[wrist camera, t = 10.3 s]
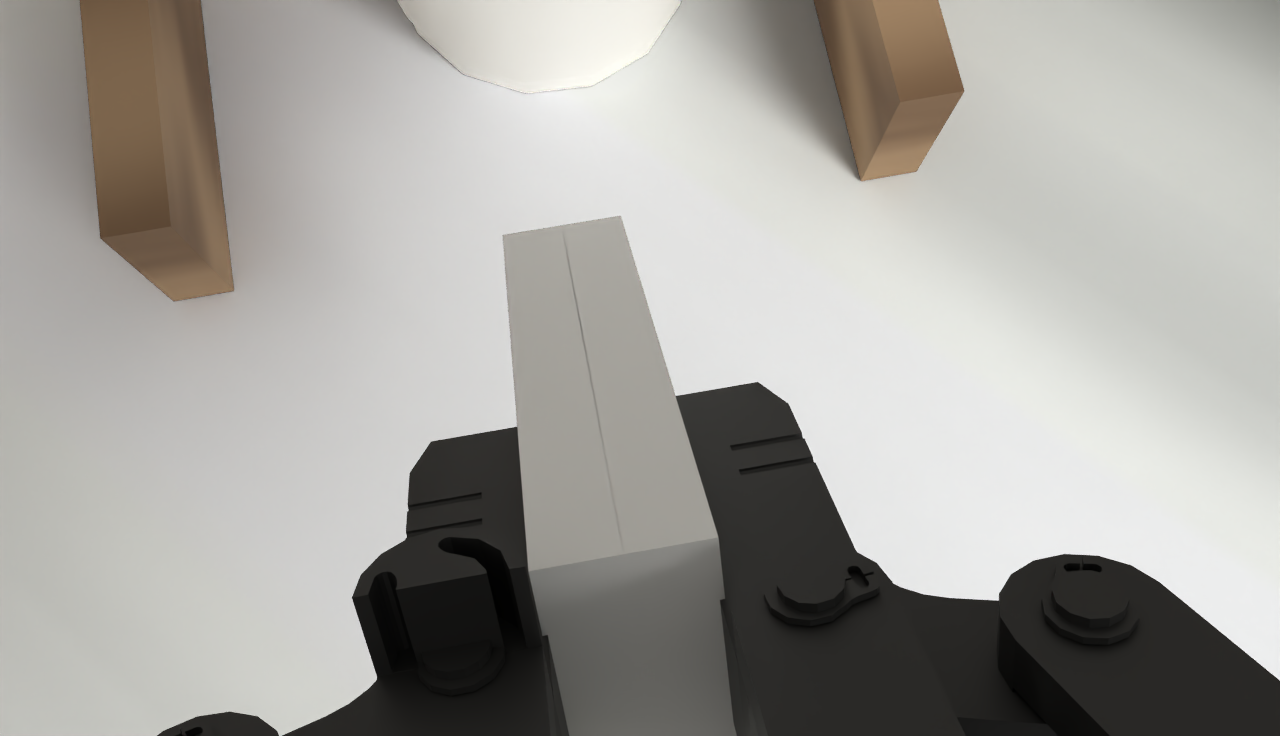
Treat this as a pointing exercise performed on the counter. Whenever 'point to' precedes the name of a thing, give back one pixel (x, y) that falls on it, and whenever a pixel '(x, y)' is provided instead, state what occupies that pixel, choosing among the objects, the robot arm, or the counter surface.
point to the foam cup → (540, 38)
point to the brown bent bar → (187, 146)
